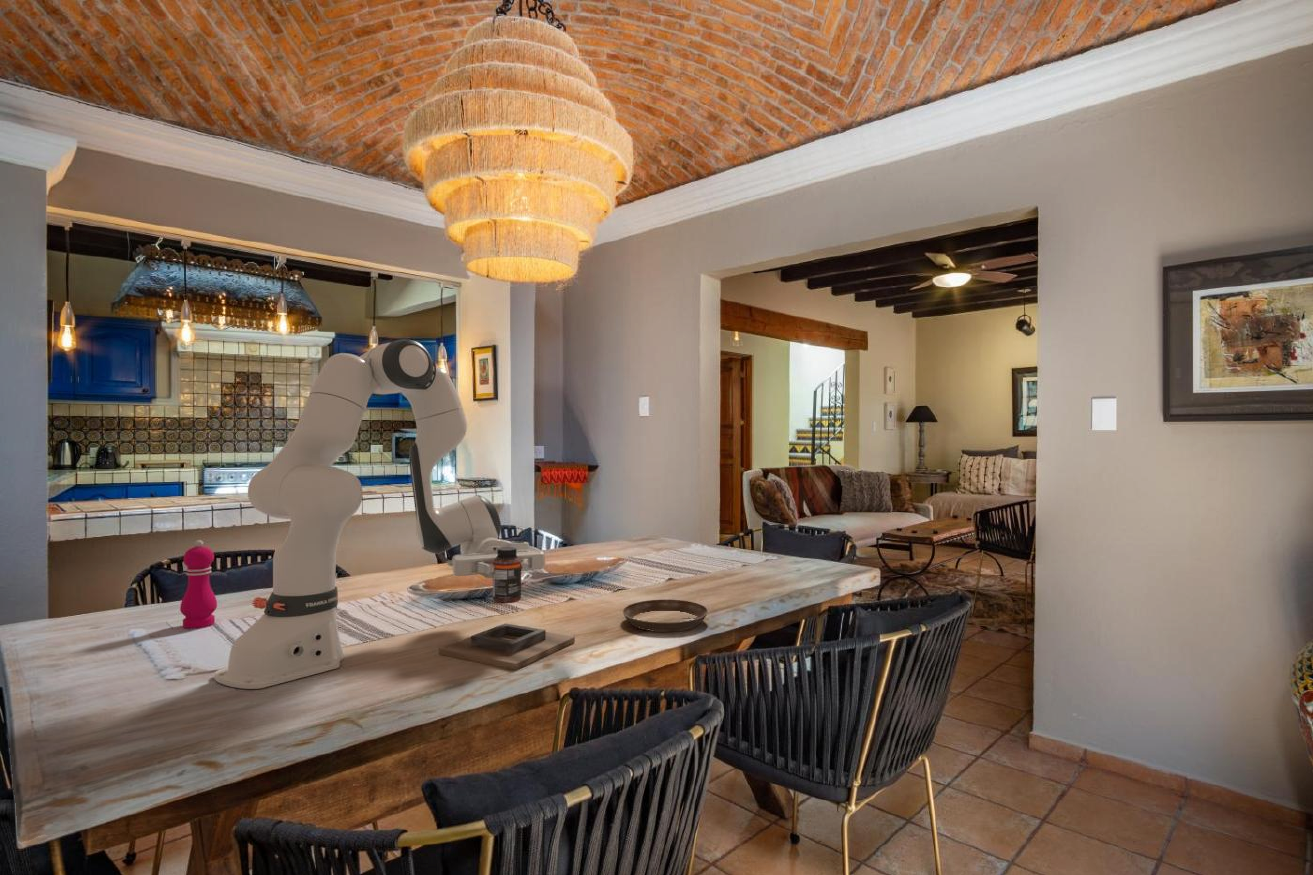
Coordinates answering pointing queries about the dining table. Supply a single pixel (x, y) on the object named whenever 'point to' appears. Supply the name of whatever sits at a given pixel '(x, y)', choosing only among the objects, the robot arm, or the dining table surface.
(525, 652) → the dock
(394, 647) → the dining table surface
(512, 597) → the supplement bottle
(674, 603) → the plant saucer
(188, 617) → the pepper mill
